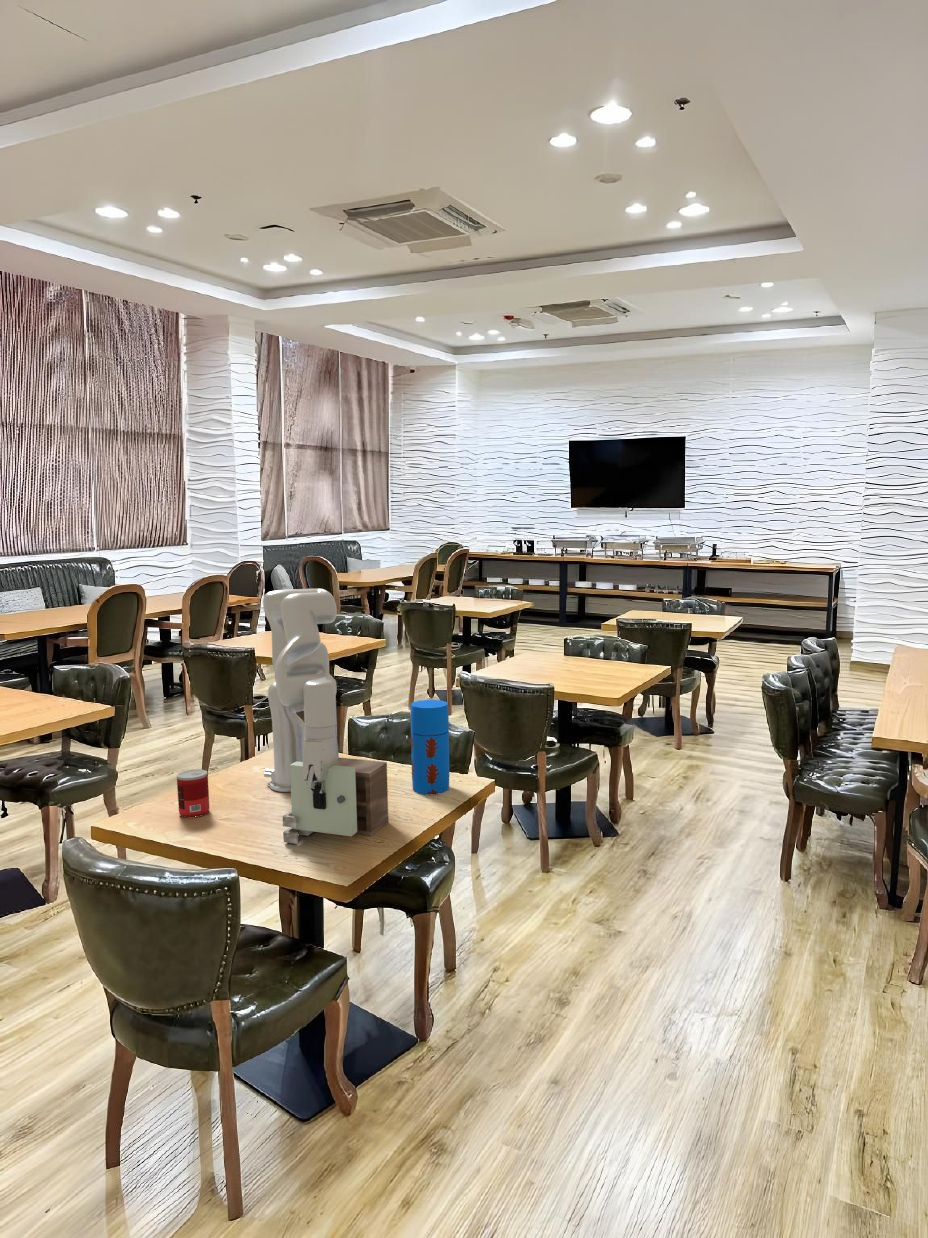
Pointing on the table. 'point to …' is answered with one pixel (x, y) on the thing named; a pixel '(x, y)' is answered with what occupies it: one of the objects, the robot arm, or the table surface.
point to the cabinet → (357, 799)
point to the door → (338, 801)
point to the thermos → (430, 746)
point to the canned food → (193, 792)
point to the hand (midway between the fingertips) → (323, 805)
